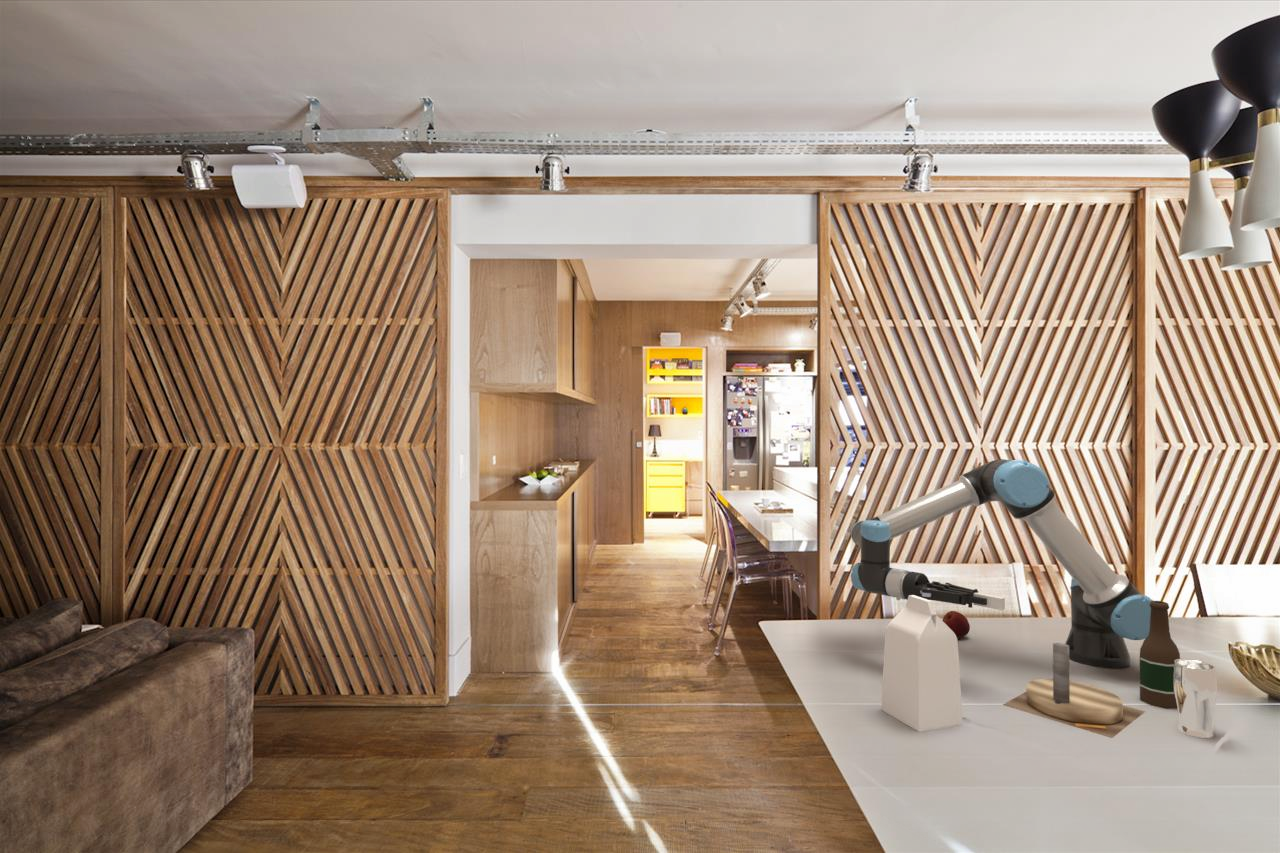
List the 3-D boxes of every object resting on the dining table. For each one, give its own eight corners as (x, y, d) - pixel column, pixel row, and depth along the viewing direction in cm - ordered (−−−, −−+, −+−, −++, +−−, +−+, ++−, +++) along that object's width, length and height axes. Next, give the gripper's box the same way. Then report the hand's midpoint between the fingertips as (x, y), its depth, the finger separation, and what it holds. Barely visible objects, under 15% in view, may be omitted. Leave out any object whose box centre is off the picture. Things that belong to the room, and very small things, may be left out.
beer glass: (1225, 746, 132) (1225, 670, 133) (1186, 743, 134) (1185, 668, 134) (1203, 731, 139) (1203, 659, 140) (1166, 728, 141) (1165, 657, 141)
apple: (938, 633, 209) (938, 607, 209) (965, 634, 208) (964, 608, 208) (946, 640, 202) (946, 613, 202) (973, 641, 201) (973, 615, 201)
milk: (881, 709, 150) (880, 593, 151) (922, 703, 154) (922, 590, 154) (918, 731, 139) (918, 606, 139) (962, 724, 142) (962, 602, 143)
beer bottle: (1173, 703, 154) (1172, 599, 155) (1188, 716, 147) (1187, 607, 147) (1133, 699, 157) (1132, 596, 157) (1146, 711, 149) (1145, 604, 150)
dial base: (1041, 688, 163) (1041, 682, 163) (1145, 716, 147) (1145, 710, 147) (1002, 709, 150) (1002, 703, 150) (1112, 743, 134) (1112, 736, 134)
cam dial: (1045, 685, 161) (1044, 623, 161) (1134, 710, 147) (1134, 641, 147) (1012, 704, 150) (1012, 637, 150) (1105, 732, 136) (1105, 658, 136)
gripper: (921, 596, 177) (1015, 615, 158) (894, 603, 169) (990, 625, 150) (921, 568, 177) (1015, 584, 158) (894, 574, 169) (990, 591, 150)
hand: (1003, 604), depth 154 cm, fingers closed
